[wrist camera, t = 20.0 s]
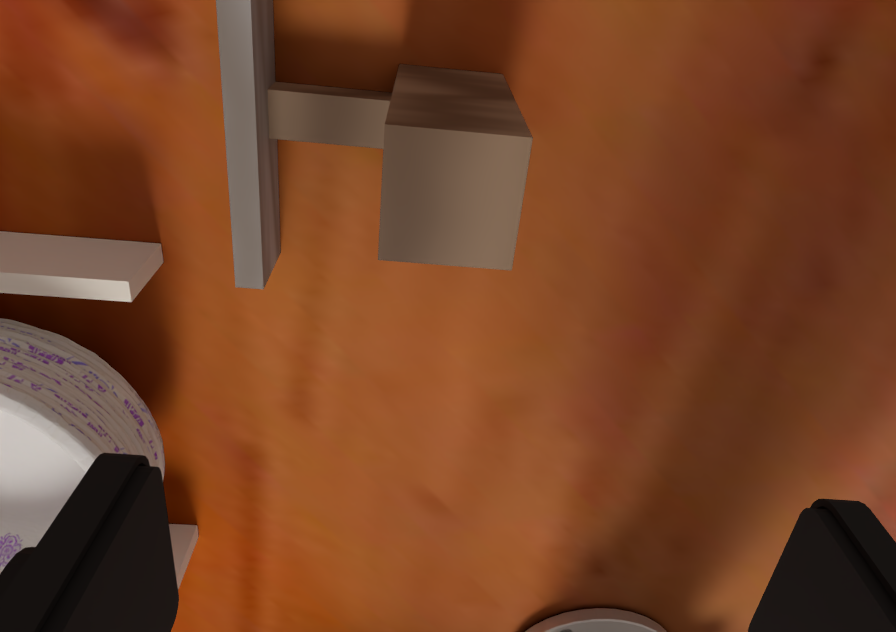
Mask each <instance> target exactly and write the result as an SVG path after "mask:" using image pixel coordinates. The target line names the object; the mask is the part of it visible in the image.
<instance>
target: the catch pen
mask: <svg viewBox="0 0 896 632" xmlns="http://www.w3.org/2000/svg"><path fill="white" fill-rule="evenodd" d="M162 264H163V254H162V247H161V244H160V243H147V242H134V241H121V240H108V239H95V238H82V237H69V236H56V235H43V234H30V233H17V232H4V231H0V293H10V294H24V295H39V296H53V297H67V298H81V299H95V300H109V301H123V302H132V301H133V300H134V299H135V297H136V296H137V295H138V294H139V292H140V291H141V290H142V289H143V287H144V286H145V285H146V284H147V282H148V281H149V280H150V279H151V277H152V276H153V275H154V274H155V272H156V271H157V270H158V269H159V267H160V266H161V265H162ZM169 529H170V536H171V544H172V551H173V558H174V565H175V572H176V580H177V587H178V589H179V586H180V584H181V581H182V579H183V576H184V573H185V571H186V568H187V566H188V563H189V560H190V558H191V555H192V553H193V550H194V547H195V545H196V542H197V540H198V537H199V536H198V528H197V525H183V524H169Z"/></svg>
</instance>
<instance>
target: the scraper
mask: <svg viewBox="0 0 896 632" xmlns="http://www.w3.org/2000/svg"><path fill="white" fill-rule="evenodd" d="M216 8H217V23H218V37H219V52H220V67H221V81H222V96H223V111H224V125H225V140H226V155H227V169H228V184H229V199H230V213H231V228H232V243H233V257H234V272H235V287H241V288H254V289H264V287H265V285H266V283H267V281H268V279H269V276H270V274H271V272H272V270H273V268H274V266H275V264H276V261H277V259H278V257H279V255H280V253H281V249H280V216H279V183H278V149H277V139H280V140H291V141H302V142H313V143H325V144H336V145H347V146H358V147H369V148H381V149H383V168H382V189H381V209H380V230H379V250H378V260H386V261H399V262H411V263H424V264H437V265H449V266H462V267H475V268H488V269H500V270H512V265H513V259H514V253H515V246H516V240H517V234H518V228H519V221H520V215H521V209H522V202H523V196H524V190H525V183H526V177H527V171H528V165H529V158H530V152H531V146H532V139H533V137H532V135H531V133H530V131H529V129H528V127H527V125H526V122H525V120H524V118H523V116H522V114H521V112H520V110H519V107H518V105H517V103H516V101H515V99H514V97H513V95H512V93H511V90H510V88H509V86H508V84H507V82H506V80H505V78H504V76H503V74H498V73H487V72H477V71H467V70H457V69H446V68H436V67H426V66H415V65H405V64H399V68H398V72H397V76H396V80H395V84H394V88H393V92H392V93H391V92H380V91H370V90H359V89H348V88H338V87H327V86H317V85H306V84H295V83H285V82H275V49H274V16H273V0H216Z"/></svg>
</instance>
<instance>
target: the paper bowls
mask: <svg viewBox="0 0 896 632" xmlns="http://www.w3.org/2000/svg"><path fill="white" fill-rule="evenodd" d="M102 453H116V454H132V455H144V456H146V457H147V458H148V460H149V464H150V466H154V467H159V468H160V469H161V473H162V479H163V478H164V471H165V456H164V448H163V442H162V438H161V435H160V431H159V429H158V427H157V424H156V422H155V420H154V418H153V417H152V415H151V412H150V410H149V409H148V407H147V406H146V404H145V403H144V401H143V400H142V399H141V398H140V397H139V396H138V394H137V392H136V391H135V390H134V389H133V388H132V387H131V385H130V384H129V383H128V382H127V381H126V380H125V379H124V378H123V377H122V376H121V375H120V374H119V373H118V372H117V371H116V370H115V369H113V368H112V367H110V365H109V364H108V363H107V362H105V361H104V360H103V359H101V358H100V357H99V356H98V355H97V354H96V353H94V352H92V351H90V350H87V349H86V348H84V347H82V346H80V345H78V344H76V343H75V342H73V341H71V340H70V339H68V338H66V337H64V336H62V335H59V334H56V333H53V332H50V331H47V330H42V329H39V328H37V327H34V326H30V325H28V324H25V323H21V322H18V321H14V320H10V319H2V318H0V573H1V572H2V571H3V569H4V568H5V566H6V565H7V564H8V562H9V561H10V560H11V559H12V558H13V557H14V555H15V554H16V553H17V552H19V551H21V550H22V549H24V548H25V547H36V546H37V544H38V543H39V541H40V540H41V538H42V537H43V536H44V534H45V533H46V531H47V530H48V528H49V527H50V525H51V524H52V522H53V521H54V519H55V518H56V516H57V515H58V513H59V512H60V510H61V509H62V508H63V506H64V505H65V503H66V502H67V500H68V499H69V497H70V496H71V494H72V493H73V491H74V490H75V488H76V487H77V485H78V484H79V482H80V481H81V480H82V478H83V477H84V475H85V474H86V472H87V471H88V469H89V468H90V466H91V465H92V463H93V462H94V460H95V459H96V458H97V457H98V456H99V455H100V454H102Z"/></svg>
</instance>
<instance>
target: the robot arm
mask: <svg viewBox="0 0 896 632" xmlns="http://www.w3.org/2000/svg"><path fill="white" fill-rule="evenodd" d="M178 601H179V595H178V587H177V580H176V572H175V565H174V558H173V551H172V544H171V536H170V529H169V522H168V515H167V508H166V500H165V493H164V486H163V479H162V473H161V469H160V468H159V467H154V466H150V464H149V460H148V458H147V457H146V456H144V455H132V454H116V453H102V454H100V455H99V456H98V457H97V458H96V459H95V460H94V462H93V463H92V465H91V466H90V468H89V469H88V471H87V472H86V474H85V475H84V477H83V478H82V480H81V481H80V482H79V484H78V485H77V487H76V488H75V490H74V491H73V493H72V494H71V496H70V497H69V499H68V500H67V502H66V503H65V505H64V506H63V508H62V509H61V510H60V512H59V513H58V515H57V516H56V518H55V519H54V521H53V522H52V524H51V525H50V527H49V528H48V530H47V531H46V533H45V534H44V536H43V537H42V538H41V540H40V541H39V543H38V544H37V546H36V547H25V548H24V549H22V550H21V551H19V552H17V553H16V554H15V555H14V557H13V558H12V559H11V560H10V561H9V562H8V564H7V565H6V566H5V568H4V569H3V571H2V572H1V573H0V632H171V629H172V627H173V624H174V621H175V618H176V614H177V609H178ZM525 632H667V631H666V630H665V629H664V628H663V627H661V626H660V625H659V624H658V623H656V622H654V621H653V620H651V619H649V618H647V617H645V616H642V615H639V614H636V613H633V612H630V611H624V610H619V609H607V608H593V609H581V610H576V611H571V612H566V613H562V614H559V615H556V616H553V617H550V618H547V619H545V620H543V621H541V622H539V623H537V624H535V625H534V626H532V627H531V628H529V629H528V630H526V631H525ZM748 632H896V542H895V541H894V540H893V538H892V537H891V536H890V535H889V533H888V532H887V531H886V529H885V528H884V527H883V525H882V524H881V523H880V522H879V520H878V519H877V518H876V516H875V515H874V514H873V513H872V511H871V510H870V509H869V508H868V507H867V506H866V505H865V504H864V503H861V502H859V501H848V500H833V499H818V500H816V501H815V502H814V503H813V504H812V505H811V507H810V508H806V509H804V510H803V511H802V512H801V514H800V516H799V518H798V520H797V522H796V524H795V527H794V529H793V531H792V533H791V535H790V538H789V540H788V542H787V544H786V546H785V548H784V551H783V553H782V555H781V557H780V559H779V562H778V564H777V566H776V568H775V570H774V572H773V575H772V577H771V579H770V581H769V583H768V586H767V588H766V590H765V592H764V594H763V596H762V599H761V601H760V603H759V605H758V607H757V610H756V612H755V614H754V616H753V618H752V620H751V623H750V625H749V629H748Z"/></svg>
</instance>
